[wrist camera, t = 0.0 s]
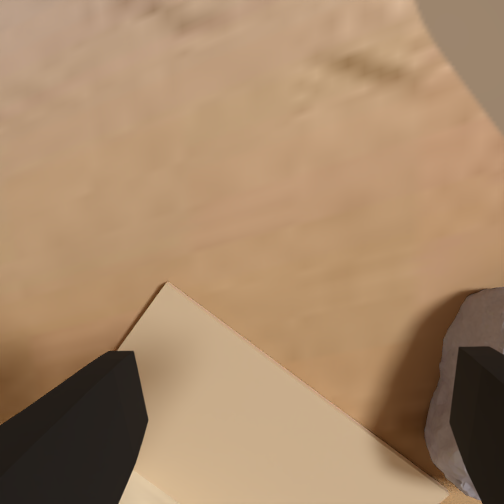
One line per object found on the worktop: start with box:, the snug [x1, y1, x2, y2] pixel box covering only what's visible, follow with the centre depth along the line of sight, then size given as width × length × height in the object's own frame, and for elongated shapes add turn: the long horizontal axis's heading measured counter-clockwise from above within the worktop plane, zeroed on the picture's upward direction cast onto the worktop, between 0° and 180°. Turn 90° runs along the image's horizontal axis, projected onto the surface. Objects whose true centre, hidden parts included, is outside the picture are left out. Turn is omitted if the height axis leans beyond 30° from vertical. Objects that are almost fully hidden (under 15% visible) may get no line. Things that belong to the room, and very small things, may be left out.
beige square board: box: [117, 282, 449, 504], centre depth 22 cm, size 16×18×1 cm
